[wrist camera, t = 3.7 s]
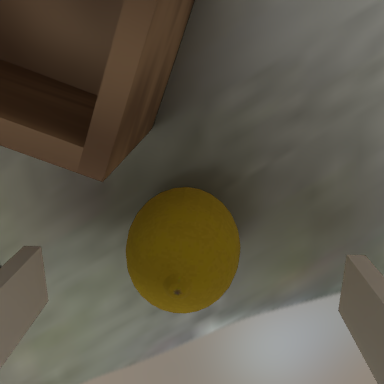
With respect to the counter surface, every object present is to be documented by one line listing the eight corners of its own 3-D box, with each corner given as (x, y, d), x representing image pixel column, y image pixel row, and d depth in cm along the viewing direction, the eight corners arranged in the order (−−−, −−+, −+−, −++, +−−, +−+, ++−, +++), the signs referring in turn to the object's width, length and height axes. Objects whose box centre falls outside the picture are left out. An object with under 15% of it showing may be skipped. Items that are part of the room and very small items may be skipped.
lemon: (135, 245, 23) (98, 334, 15) (151, 160, 21) (118, 213, 13) (222, 264, 23) (228, 361, 15) (245, 181, 21) (265, 245, 14)
